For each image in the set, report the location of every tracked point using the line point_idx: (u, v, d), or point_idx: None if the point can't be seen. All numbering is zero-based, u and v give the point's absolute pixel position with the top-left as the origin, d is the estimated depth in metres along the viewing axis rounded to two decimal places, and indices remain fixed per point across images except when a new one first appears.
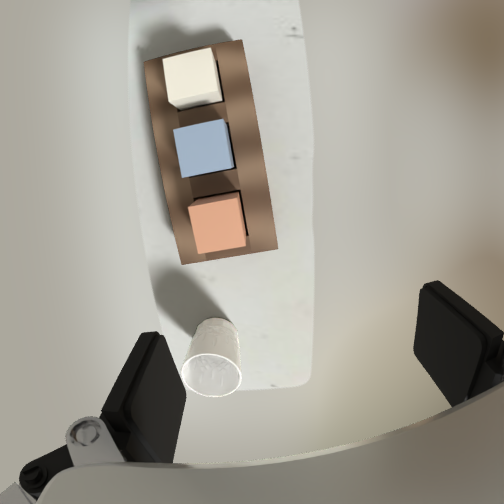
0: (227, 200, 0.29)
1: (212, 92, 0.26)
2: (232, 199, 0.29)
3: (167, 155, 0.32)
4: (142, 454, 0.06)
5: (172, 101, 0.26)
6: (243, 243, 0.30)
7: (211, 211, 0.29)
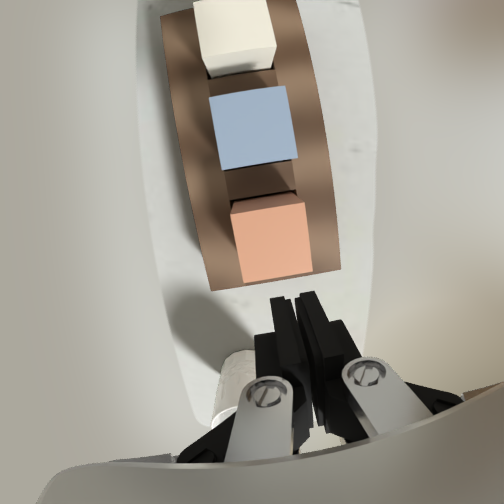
0: (290, 205, 0.20)
1: (267, 48, 0.16)
2: (297, 204, 0.20)
3: (192, 139, 0.23)
4: None
5: (207, 58, 0.17)
6: (309, 267, 0.21)
7: (265, 222, 0.20)
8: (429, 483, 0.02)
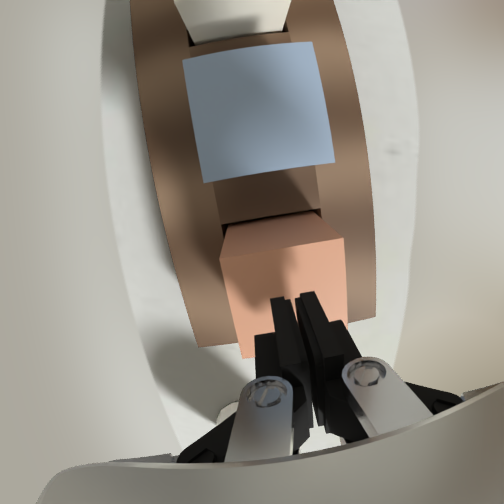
0: (320, 243, 0.12)
1: None
2: (331, 241, 0.12)
3: (166, 132, 0.15)
4: None
5: (183, 3, 0.09)
6: None
7: (278, 271, 0.12)
8: (429, 483, 0.02)
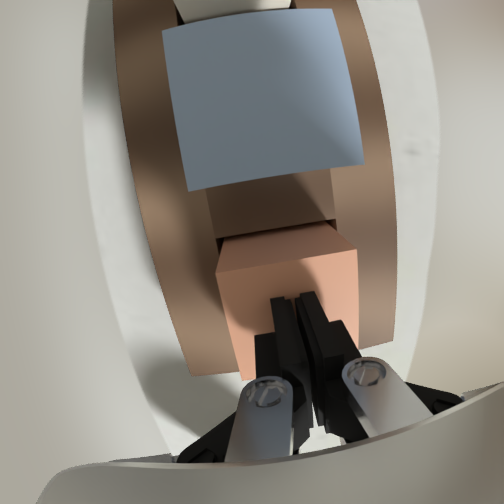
0: (330, 255, 0.10)
1: None
2: (343, 252, 0.10)
3: (148, 127, 0.12)
4: None
5: None
6: None
7: (282, 287, 0.10)
8: (429, 483, 0.02)
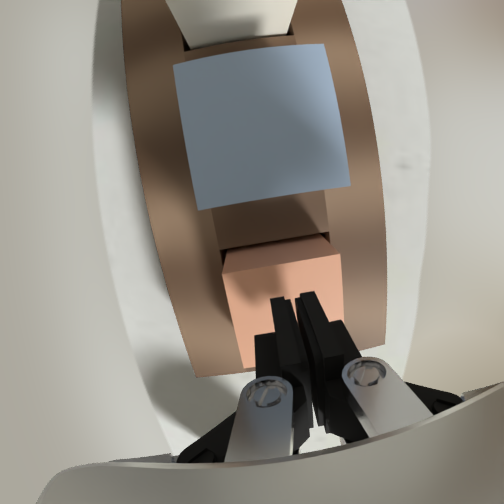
0: (317, 259, 0.12)
1: None
2: (329, 256, 0.12)
3: (158, 147, 0.13)
4: None
5: (175, 0, 0.07)
6: None
7: (278, 285, 0.12)
8: (429, 483, 0.02)
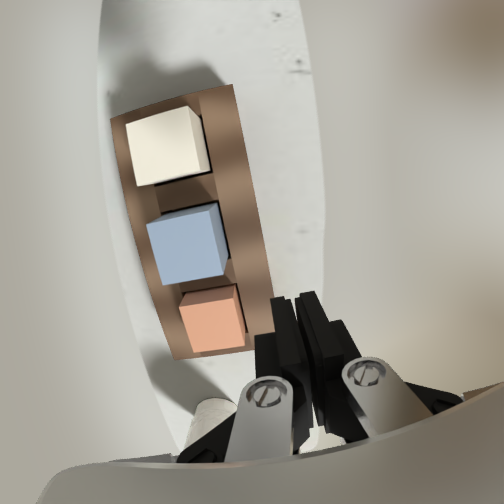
0: (222, 300, 0.26)
1: (193, 171, 0.21)
2: (228, 299, 0.26)
3: (146, 241, 0.27)
4: None
5: (142, 184, 0.21)
6: (242, 343, 0.27)
7: (204, 312, 0.26)
8: (429, 483, 0.02)
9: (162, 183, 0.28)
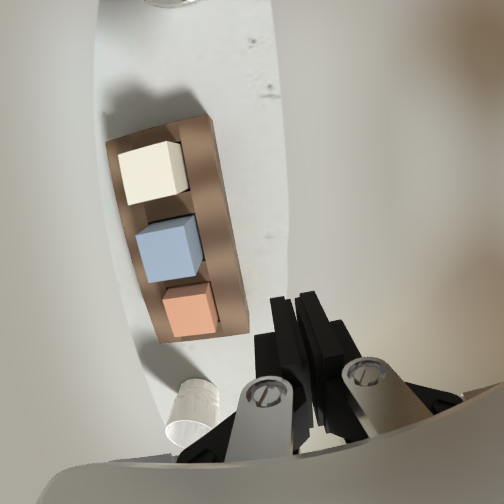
0: (196, 295, 0.32)
1: (171, 194, 0.27)
2: (201, 294, 0.32)
3: (137, 245, 0.33)
4: None
5: None
6: (213, 330, 0.33)
7: (182, 304, 0.32)
8: (429, 483, 0.02)
9: None
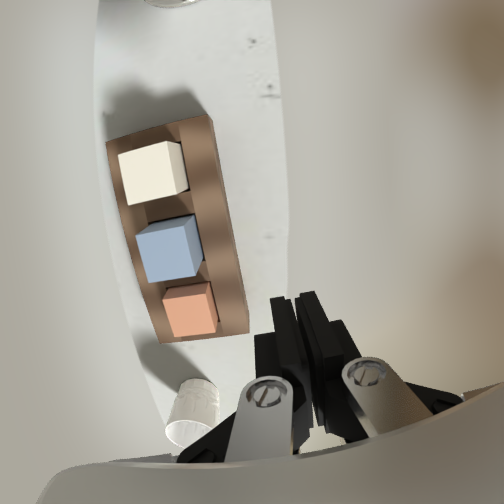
0: (196, 295, 0.32)
1: (171, 194, 0.27)
2: (201, 294, 0.32)
3: (137, 245, 0.33)
4: None
5: None
6: (213, 330, 0.33)
7: (182, 304, 0.32)
8: (429, 483, 0.02)
9: None
